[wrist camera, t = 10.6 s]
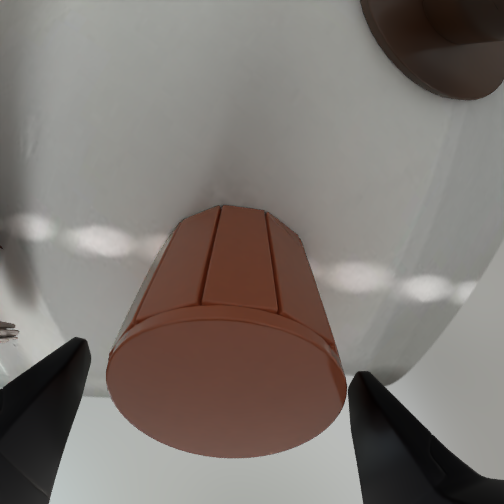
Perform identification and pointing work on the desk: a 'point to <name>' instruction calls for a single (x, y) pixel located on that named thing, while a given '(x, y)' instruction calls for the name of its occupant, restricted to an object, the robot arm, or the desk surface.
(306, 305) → the orange ribbed cylinder
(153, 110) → the desk surface
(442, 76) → the holder
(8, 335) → the bird
